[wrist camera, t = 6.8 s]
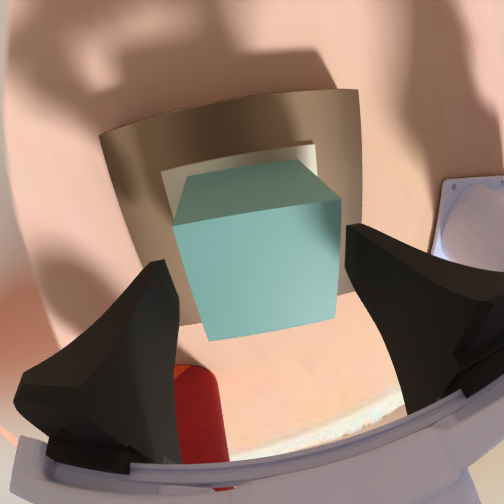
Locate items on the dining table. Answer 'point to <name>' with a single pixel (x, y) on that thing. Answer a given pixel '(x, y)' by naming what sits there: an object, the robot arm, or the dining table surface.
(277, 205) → the teal block
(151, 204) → the walnut base
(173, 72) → the dining table surface
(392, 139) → the dining table surface
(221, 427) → the paper cup
